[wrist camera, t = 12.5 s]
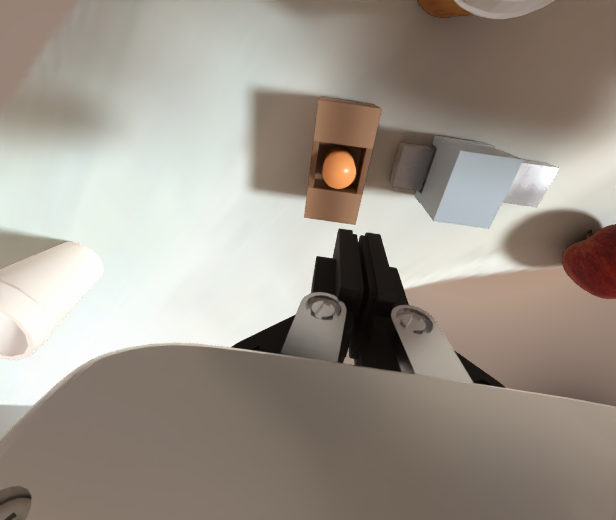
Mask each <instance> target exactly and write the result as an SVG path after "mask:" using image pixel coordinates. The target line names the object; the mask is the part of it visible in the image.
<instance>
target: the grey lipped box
mask: <svg viewBox="0 0 616 520" xmlns="http://www.w3.org/2000/svg"><path fill="white" fill-rule="evenodd" d="M432 145H434V146H436V147H437V150H436V153H435V156H434V159H433V162H432V165H431V168H430V171H429V174H428V177H427V180H426V182H425V185H424V188H423V191H419V190H417V191H416V194H415V197H416V199H417V200H418V202H419V203H421V204H422V206H423V207H424V209H425V210H426V211H427V213H428V214H429V216H430V217H431V218H432V220H433V221H438V222H445V223H452V224H459V225H466V226H473V227H480V228H487V229H489V228H490V226H491V224H492V222H493V220H494V218H495V216H496V214H497V212H498V210H499V208H500V206H501V204H502V202H503V200H504V198H505V196H506V194H507V192H508V190H509V188H510V186H511V184H512V182H513V180H514V178H515V176H516V174H517V172H518V170H519V168H520V166H521V164H522V162H523V159H521V158H518V157H516V156H513V155H511V154H508V153H506V152H504V151H501V150H499V149H496V148H495V146H492V145H490V144H487V143H483V142H476V141H469V140H462V139H455V138H448V137H441V136H434V139H433V142H432Z"/></svg>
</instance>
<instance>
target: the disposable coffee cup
mask: <svg viewBox="0 0 616 520" xmlns="http://www.w3.org/2000/svg"><path fill="white" fill-rule="evenodd" d="M417 1H418V3H419V4H420V6H421V7H422V8H423V9H424V10H425V11H426V12H427V13H429V14H431V15H433V16H435V17H441V18H444V17H453V16H462V15H471V14H474V15H476V16H478V17H484V18H491V19H509V18H514V17H519V16H523V15H526V14H529V13H531V12H534V11H536V10H538V9H541V8H543V7H546V6H547V5H549V4H550V3H552V2H553V1H555V0H417Z"/></svg>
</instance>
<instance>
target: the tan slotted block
mask: <svg viewBox="0 0 616 520" xmlns="http://www.w3.org/2000/svg"><path fill="white" fill-rule="evenodd" d="M381 111H382V109H381V108H379V107H378V106H376V105H374V104H370V103H363V102H356V101H349V100H342V99H335V98H328V97H320V99H319V100H318V108H317V116H316V124H315V133H314V141H313V149H312V157H311V165H310V173H309V181H308V190H307V198H306V206H305V214H304V218H311V219H318V220H325V221H332V222H339V223H346V224H353V225H355V224H356V220H357V216H358V211H359V207H360V202H361V198H362V194H363V189H364V185H365V181H366V176H367V172H368V168H369V163H370V159H371V154H372V150H373V146H374V141H375V137H376V133H377V128H378V124H379V120H380V115H381ZM335 147H343V148H346V149H347V150H349V151H350V153H351V154H352V156H353V160H354V164H355V167H356V175H355V178H354V180H353V182H352V183H351V184H350V185H349V186H347V187H345V188H342V189H335V188H332V187H330V186H329V185H328V184H327V183H326V182H325V181H324V178H323V174H322V171H323V162H324V157H325V155H326V154H327V152H328V151H329V150H331V149H332V148H335Z"/></svg>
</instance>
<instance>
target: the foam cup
mask: <svg viewBox="0 0 616 520" xmlns="http://www.w3.org/2000/svg"><path fill="white" fill-rule="evenodd" d="M102 273H103V264H102V262H101V260H100V259H99V257H98V255H97V254H95V253H94V252H93V251H92V250H91V249H90V248H88V247H86V246H84V245H82V244H80V243H76V242H65V243H62V244H60V245H57V246H55V247H52V248H50V249H47V250H45V251H43V252H40V253H38V254H35V255H33V256H30V257H28V258H26V259H23V260H21V261H18V262H16V263H13V264H11V265H9V266H6V267H4V268H1V269H0V359H8V360H19V359H23V358H27V357H29V356H30V355H32V354H33V353H34V352H35V351H36V350H37V349H38V348H39V347H40V346H42V345H43V344H44V343H45V342H46V341H47V340H48V338H49V337H50V335H51V334H52V332H53V330H54V329H55V328H56V327H57V326H58V325H59V323H60V322H61V321H62V320H63V319H64V318H65V317H66V315H67V314H68V313H69V312H70V311H71V310H72V309H73V307H74V306H75V305H76V304H77V303H78V302H79V301H80V300H81V298H82V297H83V296H84V295H85V294H86V293H87V292H88V290H89V289H90V288H91V287H92V286H93V285H94V284H95V282H96V281H97V280H98V279H99V278H100V276H101V275H102Z"/></svg>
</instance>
